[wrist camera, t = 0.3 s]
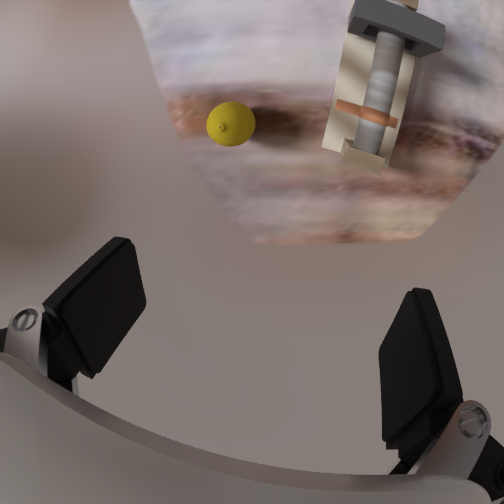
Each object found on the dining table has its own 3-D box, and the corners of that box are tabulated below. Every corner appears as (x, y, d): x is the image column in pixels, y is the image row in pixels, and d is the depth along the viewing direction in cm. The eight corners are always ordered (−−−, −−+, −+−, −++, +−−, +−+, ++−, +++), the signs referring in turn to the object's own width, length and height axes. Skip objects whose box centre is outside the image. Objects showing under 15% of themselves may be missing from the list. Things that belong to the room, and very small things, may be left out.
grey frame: (350, 12, 22) (357, -9, 16) (421, 37, 21) (445, 25, 15) (347, 32, 24) (353, 15, 17) (418, 57, 23) (442, 49, 16)
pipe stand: (352, -4, 22) (359, -26, 16) (419, 19, 21) (440, 5, 15) (321, 146, 34) (321, 158, 28) (386, 166, 33) (400, 183, 27)
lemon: (269, 122, 34) (256, 129, 27) (239, 148, 37) (219, 162, 30) (241, 92, 33) (221, 92, 26) (212, 120, 35) (186, 127, 29)
